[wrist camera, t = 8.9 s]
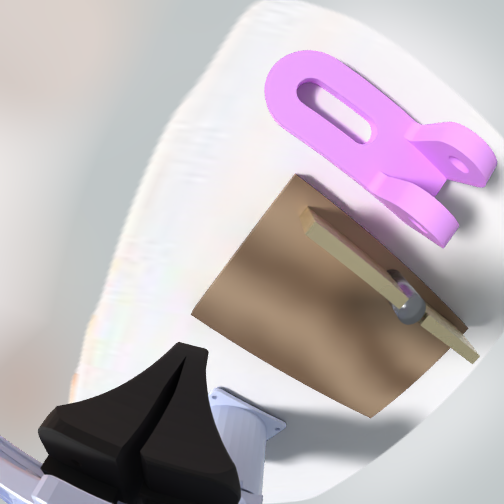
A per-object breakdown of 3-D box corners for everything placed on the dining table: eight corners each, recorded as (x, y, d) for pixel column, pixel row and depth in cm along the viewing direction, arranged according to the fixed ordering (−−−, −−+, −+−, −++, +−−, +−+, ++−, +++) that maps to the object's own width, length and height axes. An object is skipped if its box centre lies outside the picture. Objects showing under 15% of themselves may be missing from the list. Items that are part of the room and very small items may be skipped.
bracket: (447, 162, 17) (508, 172, 11) (405, 223, 19) (454, 256, 13) (296, 42, 16) (304, -7, 9) (248, 106, 18) (232, 82, 11)
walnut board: (368, 410, 25) (370, 418, 24) (194, 307, 22) (190, 314, 21) (463, 322, 21) (468, 328, 20) (295, 173, 19) (295, 174, 18)
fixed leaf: (389, 298, 20) (410, 329, 16) (294, 222, 19) (298, 242, 15) (406, 278, 19) (431, 307, 15) (312, 199, 18) (321, 213, 14)
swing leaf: (451, 335, 20) (472, 364, 16) (399, 295, 19) (420, 325, 16) (457, 328, 20) (480, 356, 16) (405, 286, 19) (428, 314, 15)
